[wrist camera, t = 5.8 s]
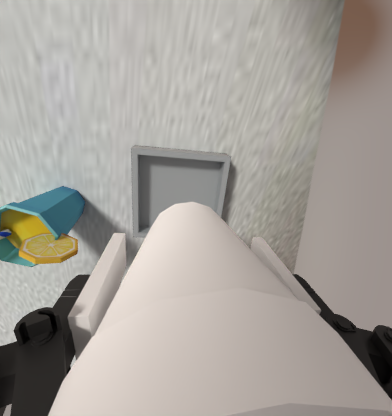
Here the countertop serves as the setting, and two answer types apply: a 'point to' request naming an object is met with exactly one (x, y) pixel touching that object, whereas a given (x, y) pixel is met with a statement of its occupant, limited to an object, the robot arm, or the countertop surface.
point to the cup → (40, 228)
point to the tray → (174, 182)
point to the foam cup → (212, 337)
